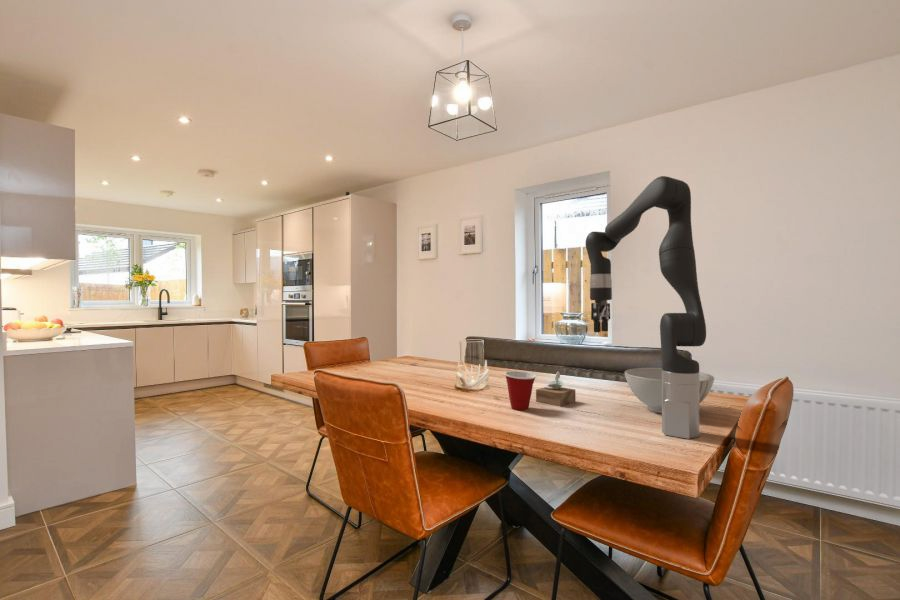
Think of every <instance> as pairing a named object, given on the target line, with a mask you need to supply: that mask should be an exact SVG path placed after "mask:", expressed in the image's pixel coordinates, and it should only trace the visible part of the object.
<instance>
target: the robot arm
mask: <svg viewBox="0 0 900 600" xmlns="http://www.w3.org/2000/svg"><path fill="white" fill-rule="evenodd" d="M652 208H658V209H663V210H666V212H667V215H668V229H667V232H666V234H665V235H664V237H663V239H662V241H661V242H660V245H659V250H658V257H659V267H660V272H661V275H662V276H663V277H664V279H665V280H666V281H667V283H668V284H669V285H670V286H671V288H672V289H673V290H675V292H676V293H677V295H678V296H679V297H680V299H681V301H682V302H683V305H684V308H685V309H684V310H685V312H667V313H666V312H665V313H664V314H663V315H662V316H661V318H660V323H659V335H660V349H661V350H660V351H661V352H660V356H661V358H660V359H661V368H662V413H661V431H662V433H663V434H664V435H665V436H670V437H677V438H683V439H688V440H689V439H693V438H698V437H699V436H700V404H699V372H700V363H699V362H698V361H697V360H694V359H692V358H689V357H687V356H684V355H683V354H680V353H679V351H678V348H677V347H701V346H703V345H704V344H705V342H706V339H707V324H706V320H705V315H704V310H703V304H702V301H701V295H700V290H699V283H698V275H697V274H698V273H697V272H698V271H697V262H696V253H695V247H694V240H693V239H694V238H693V229H692V227H693V226H692V195H691V189H690V186H689V184H688V183H686V182H685V181H684V180H680V179H678V178H673V177H670V176H665V175H664V176H663V175H662V176H658V177H656V178H654V179H653V180H652V181H651V182H650V183H649V184H648V185H647V186H646V187H645V188H644V189H643V190H642V192H640V193H639V194H638V196H637V197H635V199H634V200H633V202H631V204H630V205H629V206H628V207H627V208H626V209H625V210H624V211H623V212H621V213H620V214H619V215H618V216H616V217H615V218H614V219H612V220H611V221H610V222H609V223H608V224H606V226H605V228H604V232H603V231H591V232H589V233H588V234H587V235H586V238H585V249H586V252H587V256H588V259H589V264H590V277H589V299H590V301H594V302H591V304H590V305H591V307H590V308H591V311H590V320H592V322H593V332H594V333H600V332H608V331H609V320H611V303H610V302H609V303H608V302H607V301H611V300H613V285H612V282H613V279H612V262H611V259H610V258H607V257H605V256H604V255H603V253H605V252H606V253H607V252H610V251H612V250H614V249H616V248H617V246H618V244H619V243H620V242H621V240H622V239H624V238H625V237H626V236H628V235H629V234H631V233H632V232H634V231H635V229H636V228H637V227H638V225H639V224H640V221H641V218H642V216H643V214H644V213H646V212H647V211H649V210H651V209H652Z"/></svg>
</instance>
